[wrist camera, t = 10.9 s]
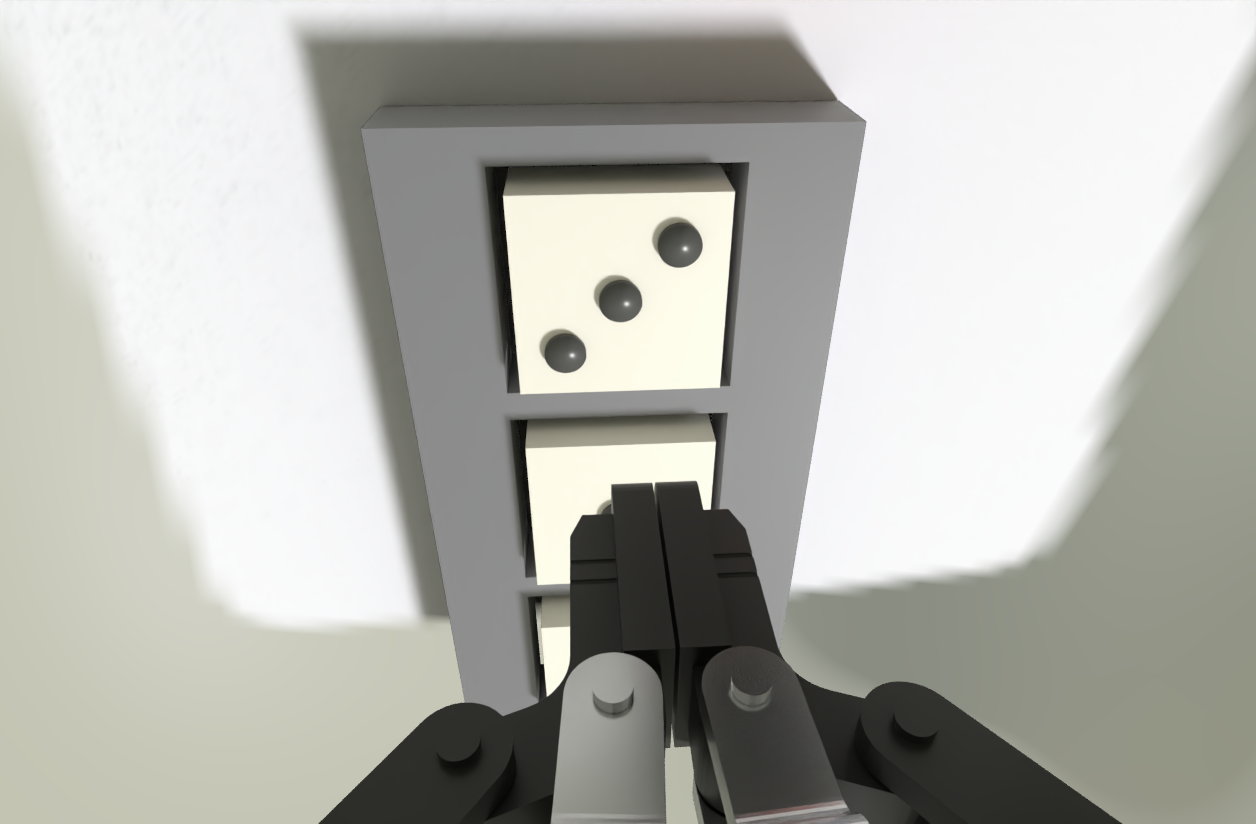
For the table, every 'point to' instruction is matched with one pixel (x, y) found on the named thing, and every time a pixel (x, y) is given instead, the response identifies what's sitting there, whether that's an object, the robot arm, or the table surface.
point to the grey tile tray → (492, 404)
